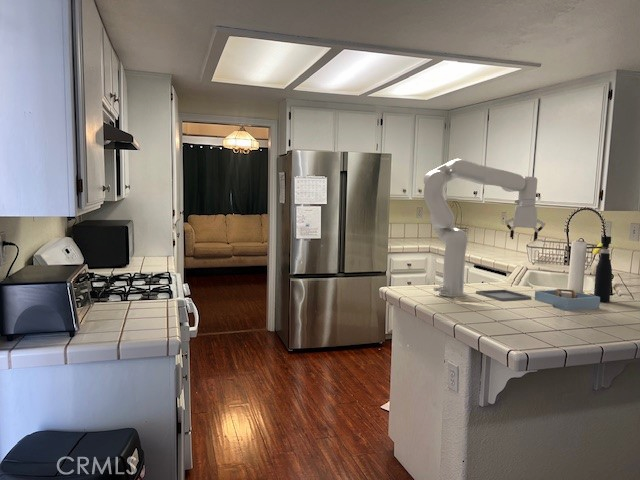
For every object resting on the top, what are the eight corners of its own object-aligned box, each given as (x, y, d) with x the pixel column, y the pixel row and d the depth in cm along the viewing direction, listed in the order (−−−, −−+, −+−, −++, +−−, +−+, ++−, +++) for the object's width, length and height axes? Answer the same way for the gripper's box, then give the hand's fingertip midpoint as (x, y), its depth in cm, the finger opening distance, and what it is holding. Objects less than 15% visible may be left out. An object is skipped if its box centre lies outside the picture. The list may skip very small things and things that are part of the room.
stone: (561, 301, 211) (561, 292, 211) (560, 299, 215) (560, 290, 215) (571, 302, 210) (571, 293, 210) (570, 300, 214) (570, 291, 213)
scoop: (558, 304, 207) (559, 293, 207) (555, 299, 219) (556, 288, 218) (576, 306, 205) (577, 294, 204) (573, 301, 216) (573, 290, 216)
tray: (500, 303, 212) (501, 298, 212) (475, 295, 228) (475, 290, 228) (531, 301, 218) (531, 296, 218) (504, 294, 234) (504, 289, 234)
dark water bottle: (593, 301, 222) (598, 236, 220) (593, 299, 228) (598, 235, 225) (609, 303, 219) (615, 237, 217) (609, 300, 225) (614, 236, 222)
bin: (567, 310, 200) (568, 299, 200) (534, 301, 217) (535, 290, 217) (599, 308, 207) (600, 297, 206) (564, 299, 223) (565, 289, 223)
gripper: (506, 202, 224) (503, 239, 225) (547, 204, 217) (543, 242, 219) (506, 202, 231) (503, 238, 232) (546, 204, 224) (543, 241, 226)
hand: (523, 240), depth 225 cm, fingers open, 9 cm apart
